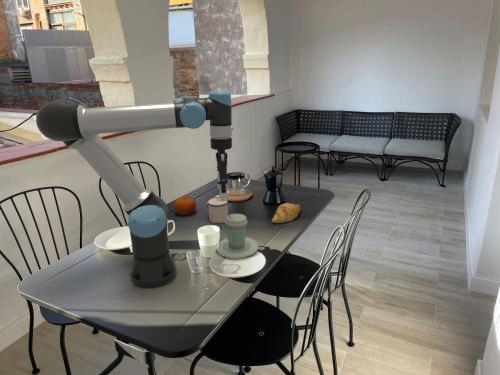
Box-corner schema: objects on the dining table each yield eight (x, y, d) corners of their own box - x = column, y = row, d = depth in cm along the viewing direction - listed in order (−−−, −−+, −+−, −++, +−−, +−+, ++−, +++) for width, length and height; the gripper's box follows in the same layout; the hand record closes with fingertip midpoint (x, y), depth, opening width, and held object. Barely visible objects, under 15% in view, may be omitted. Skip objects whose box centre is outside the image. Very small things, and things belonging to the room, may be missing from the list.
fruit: (170, 214, 175) (168, 198, 173) (185, 207, 184) (184, 192, 181) (186, 219, 170) (185, 203, 167) (201, 211, 178) (200, 196, 175)
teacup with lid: (232, 218, 169) (231, 194, 166) (219, 225, 162) (218, 200, 159) (213, 213, 176) (212, 190, 172) (200, 219, 169) (198, 195, 165)
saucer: (217, 262, 132) (217, 257, 132) (215, 241, 147) (215, 238, 147) (261, 257, 135) (261, 253, 134) (254, 238, 150) (254, 234, 149)
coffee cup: (228, 240, 145) (227, 212, 141) (250, 242, 143) (249, 213, 139) (222, 250, 137) (221, 221, 133) (245, 252, 135) (244, 222, 131)
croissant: (278, 233, 161) (285, 221, 157) (261, 218, 165) (268, 206, 161) (303, 217, 176) (311, 205, 172) (288, 204, 180) (295, 192, 176)
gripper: (235, 144, 117) (235, 206, 123) (229, 130, 140) (229, 183, 147) (211, 144, 116) (213, 207, 122) (209, 131, 139) (211, 184, 146)
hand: (222, 194), depth 135 cm, fingers open, 13 cm apart
